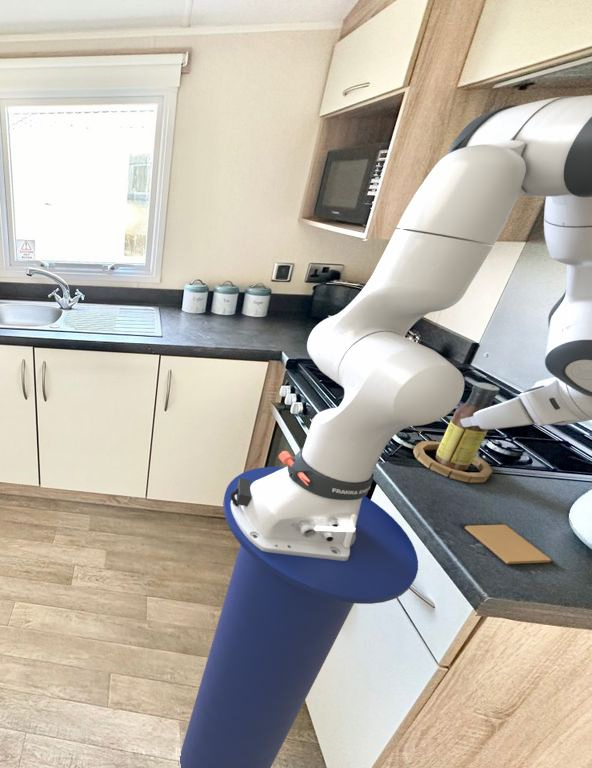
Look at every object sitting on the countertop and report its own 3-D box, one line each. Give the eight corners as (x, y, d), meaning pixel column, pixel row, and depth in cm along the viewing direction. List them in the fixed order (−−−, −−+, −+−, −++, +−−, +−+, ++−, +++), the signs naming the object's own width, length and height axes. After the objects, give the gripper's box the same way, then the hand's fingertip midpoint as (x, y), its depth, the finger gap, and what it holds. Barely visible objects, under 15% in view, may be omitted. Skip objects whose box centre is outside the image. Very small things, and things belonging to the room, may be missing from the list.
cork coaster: (507, 564, 69) (509, 561, 69) (464, 528, 76) (465, 525, 76) (550, 562, 70) (551, 559, 70) (503, 526, 77) (505, 524, 77)
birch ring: (447, 483, 88) (451, 477, 87) (399, 446, 100) (402, 441, 99) (504, 481, 89) (508, 475, 88) (450, 445, 101) (453, 440, 100)
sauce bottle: (471, 466, 94) (515, 389, 85) (462, 475, 90) (507, 396, 82) (437, 451, 98) (475, 377, 90) (427, 460, 95) (465, 384, 86)
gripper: (579, 376, 81) (495, 397, 93) (524, 392, 73) (440, 413, 86) (598, 406, 79) (509, 424, 92) (543, 426, 72) (455, 442, 84)
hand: (475, 419), depth 89 cm, fingers open, 8 cm apart
